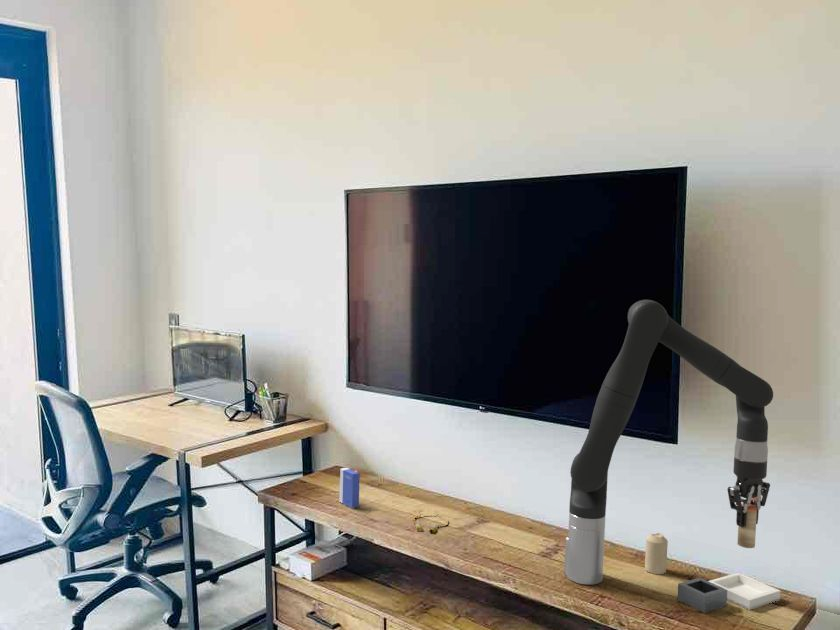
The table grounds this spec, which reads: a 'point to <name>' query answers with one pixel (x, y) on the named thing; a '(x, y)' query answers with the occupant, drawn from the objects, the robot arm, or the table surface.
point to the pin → (748, 528)
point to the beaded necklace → (419, 528)
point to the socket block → (702, 595)
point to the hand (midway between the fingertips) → (746, 524)
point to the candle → (656, 554)
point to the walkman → (349, 487)
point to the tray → (747, 591)
